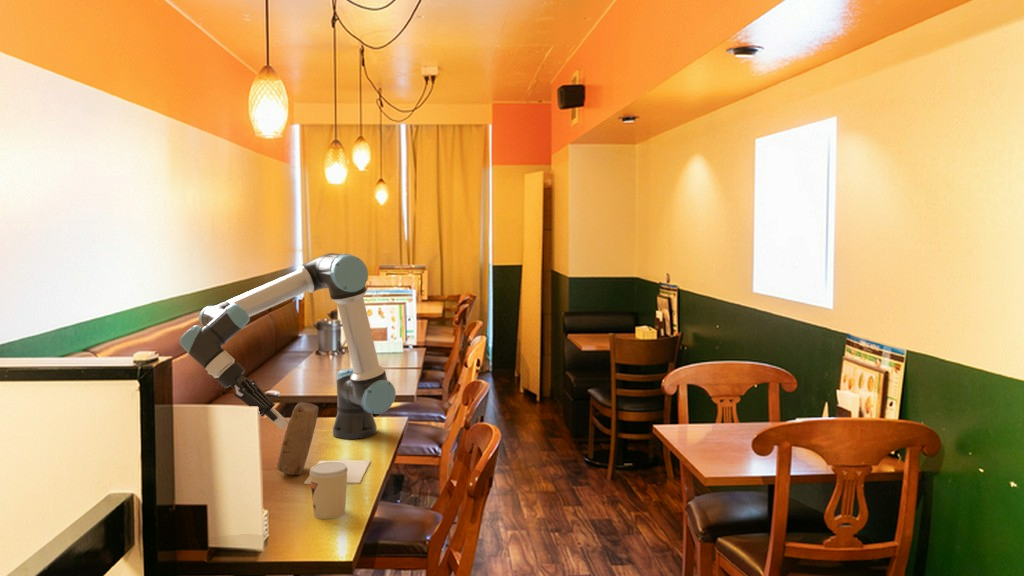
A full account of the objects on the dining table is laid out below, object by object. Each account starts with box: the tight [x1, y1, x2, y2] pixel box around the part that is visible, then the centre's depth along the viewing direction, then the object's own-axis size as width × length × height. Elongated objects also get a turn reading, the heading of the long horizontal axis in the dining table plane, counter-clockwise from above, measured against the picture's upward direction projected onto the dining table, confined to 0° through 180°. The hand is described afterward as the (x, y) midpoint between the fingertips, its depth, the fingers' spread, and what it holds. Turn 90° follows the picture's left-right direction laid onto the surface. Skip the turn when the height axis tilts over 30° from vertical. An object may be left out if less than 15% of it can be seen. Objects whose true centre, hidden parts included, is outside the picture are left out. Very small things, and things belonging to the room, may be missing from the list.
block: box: [276, 401, 320, 476], centre depth 224 cm, size 11×8×20 cm
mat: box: [303, 459, 371, 485], centre depth 225 cm, size 20×16×1 cm
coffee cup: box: [309, 462, 348, 520], centre depth 193 cm, size 9×9×12 cm
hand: (285, 426), depth 223 cm, fingers closed
